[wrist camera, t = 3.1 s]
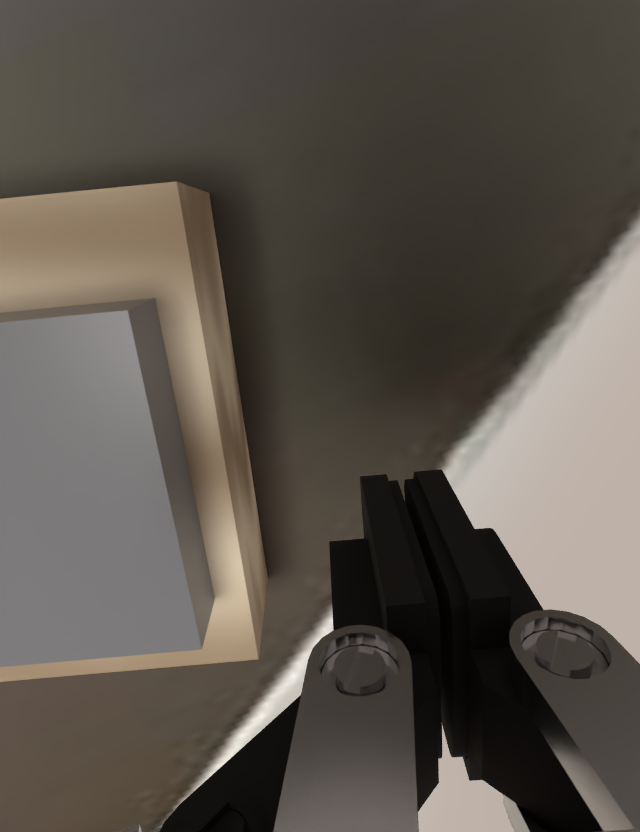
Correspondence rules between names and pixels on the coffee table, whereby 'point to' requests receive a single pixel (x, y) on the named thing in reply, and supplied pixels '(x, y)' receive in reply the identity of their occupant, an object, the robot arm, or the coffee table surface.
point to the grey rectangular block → (95, 490)
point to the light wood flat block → (188, 363)
